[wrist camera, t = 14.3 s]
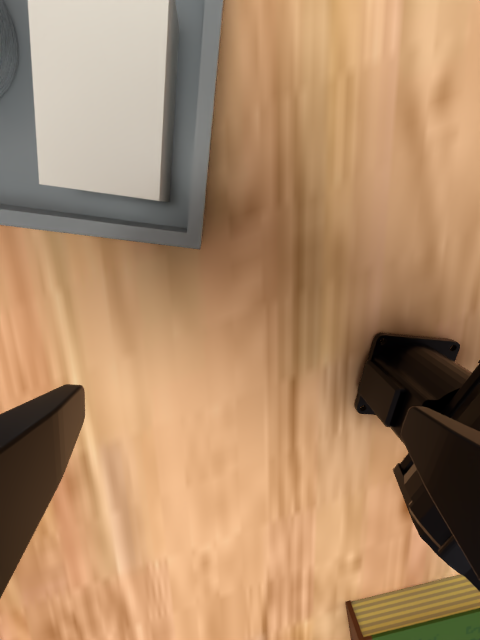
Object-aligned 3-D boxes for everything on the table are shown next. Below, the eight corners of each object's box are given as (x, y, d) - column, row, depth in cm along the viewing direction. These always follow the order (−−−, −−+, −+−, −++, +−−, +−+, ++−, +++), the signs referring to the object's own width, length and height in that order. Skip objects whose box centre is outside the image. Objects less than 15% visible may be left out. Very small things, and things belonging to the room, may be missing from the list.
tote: (229, -58, 15) (236, -144, 12) (201, 241, 20) (200, 249, 16) (-215, -170, 13) (-389, -325, 9) (-132, 199, 17) (-226, 196, 14)
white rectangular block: (179, 27, 16) (170, -30, 12) (169, 202, 18) (159, 200, 14) (70, 4, 15) (23, -64, 11) (75, 189, 17) (39, 184, 14)
